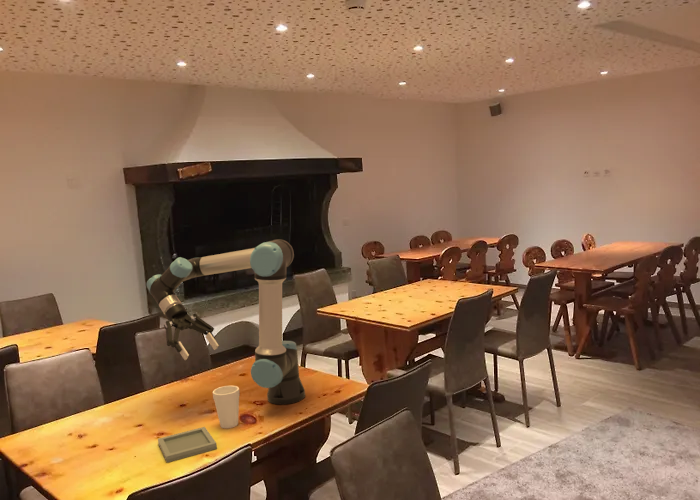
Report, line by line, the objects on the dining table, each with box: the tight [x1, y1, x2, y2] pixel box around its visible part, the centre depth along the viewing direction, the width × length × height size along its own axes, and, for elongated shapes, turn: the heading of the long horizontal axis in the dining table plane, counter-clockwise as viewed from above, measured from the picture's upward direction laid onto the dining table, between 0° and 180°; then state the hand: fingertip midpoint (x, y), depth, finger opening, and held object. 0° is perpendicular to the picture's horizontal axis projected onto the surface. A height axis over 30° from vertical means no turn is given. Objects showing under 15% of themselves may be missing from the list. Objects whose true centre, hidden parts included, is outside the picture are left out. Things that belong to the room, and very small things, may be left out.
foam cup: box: [212, 385, 241, 429], centre depth 206 cm, size 10×9×13 cm
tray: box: [157, 426, 218, 464], centre depth 191 cm, size 16×16×2 cm
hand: (202, 352), depth 211 cm, fingers open, 13 cm apart
